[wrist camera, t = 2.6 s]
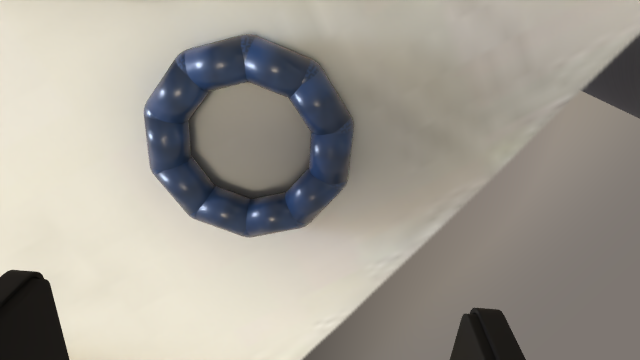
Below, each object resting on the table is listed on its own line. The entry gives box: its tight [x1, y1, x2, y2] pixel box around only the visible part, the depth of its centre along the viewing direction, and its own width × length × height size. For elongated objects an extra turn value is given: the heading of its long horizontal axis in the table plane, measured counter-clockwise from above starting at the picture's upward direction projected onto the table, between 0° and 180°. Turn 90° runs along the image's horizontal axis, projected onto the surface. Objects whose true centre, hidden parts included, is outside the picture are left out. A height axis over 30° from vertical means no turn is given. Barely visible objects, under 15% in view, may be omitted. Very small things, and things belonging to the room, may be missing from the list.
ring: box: [144, 34, 354, 237], centre depth 21 cm, size 10×10×2 cm
